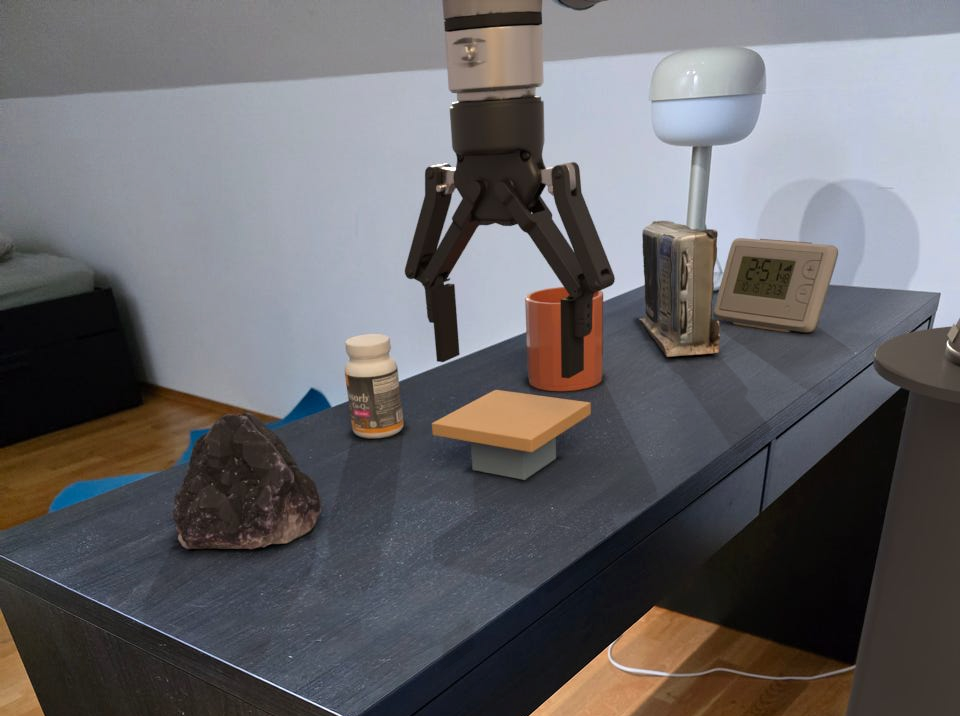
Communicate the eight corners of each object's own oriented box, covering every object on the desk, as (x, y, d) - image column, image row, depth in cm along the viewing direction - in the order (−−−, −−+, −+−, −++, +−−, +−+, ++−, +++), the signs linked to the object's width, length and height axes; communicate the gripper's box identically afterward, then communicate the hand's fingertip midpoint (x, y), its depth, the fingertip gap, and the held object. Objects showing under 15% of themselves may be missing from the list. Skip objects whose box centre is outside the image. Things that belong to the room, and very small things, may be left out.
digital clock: (706, 320, 128) (711, 241, 122) (751, 309, 131) (758, 232, 126) (792, 340, 116) (803, 254, 110) (839, 328, 119) (852, 243, 114)
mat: (591, 414, 85) (591, 402, 84) (531, 452, 78) (531, 439, 77) (496, 400, 91) (495, 389, 90) (432, 435, 83) (431, 423, 82)
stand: (556, 458, 87) (555, 419, 85) (524, 480, 83) (522, 439, 81) (505, 449, 90) (503, 411, 88) (472, 470, 86) (469, 430, 84)
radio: (638, 318, 132) (641, 208, 124) (697, 315, 131) (704, 204, 123) (650, 362, 112) (654, 235, 104) (719, 359, 111) (729, 230, 103)
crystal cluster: (255, 580, 71) (243, 462, 66) (134, 539, 76) (115, 427, 71) (353, 525, 81) (350, 419, 76) (241, 492, 86) (231, 391, 81)
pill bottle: (342, 433, 97) (328, 342, 92) (382, 419, 100) (371, 329, 95) (375, 444, 94) (361, 349, 88) (415, 428, 97) (405, 336, 92)
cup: (614, 373, 109) (616, 288, 104) (579, 395, 103) (579, 306, 98) (552, 366, 114) (550, 284, 108) (515, 386, 108) (511, 300, 102)
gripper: (346, 105, 73) (378, 362, 85) (616, 89, 61) (610, 393, 72) (402, 99, 78) (425, 343, 90) (662, 84, 66) (650, 369, 77)
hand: (507, 366), depth 81 cm, fingers open, 13 cm apart
